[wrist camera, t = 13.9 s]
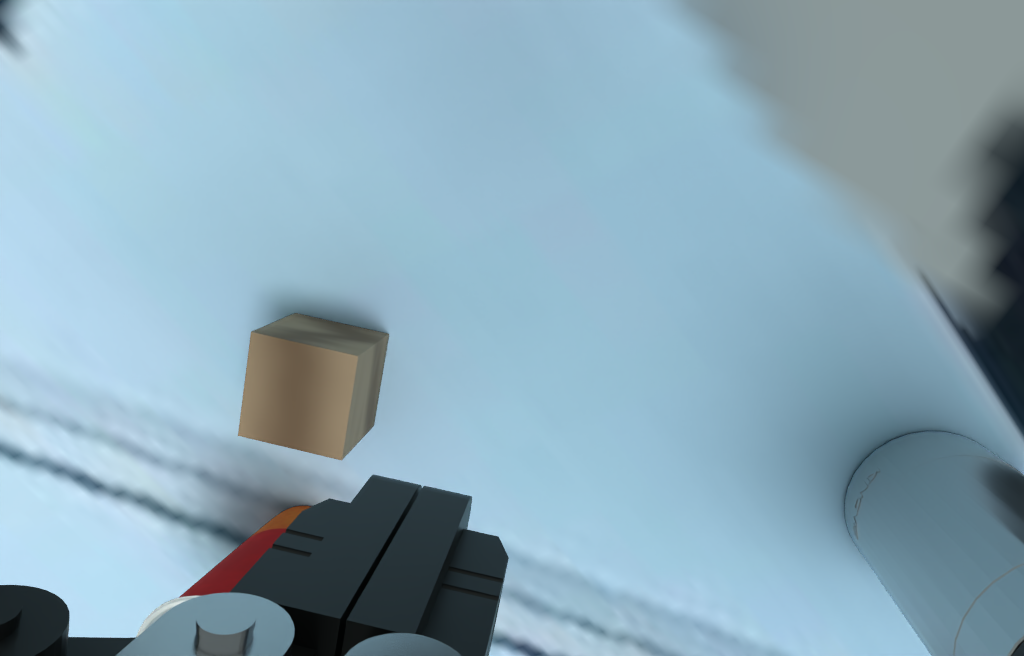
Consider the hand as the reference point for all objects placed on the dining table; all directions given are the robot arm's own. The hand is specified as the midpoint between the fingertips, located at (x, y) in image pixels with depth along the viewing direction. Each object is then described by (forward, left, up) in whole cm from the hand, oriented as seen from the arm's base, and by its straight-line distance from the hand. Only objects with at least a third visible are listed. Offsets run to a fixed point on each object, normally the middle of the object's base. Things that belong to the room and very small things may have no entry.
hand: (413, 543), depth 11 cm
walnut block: (+12, +9, -34) cm, 37 cm away
